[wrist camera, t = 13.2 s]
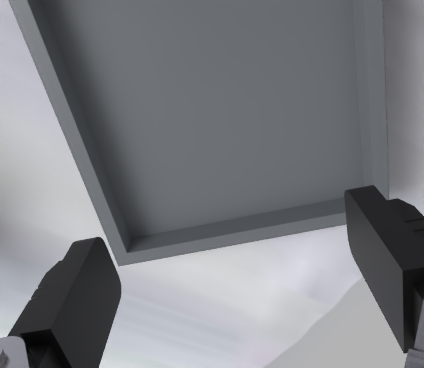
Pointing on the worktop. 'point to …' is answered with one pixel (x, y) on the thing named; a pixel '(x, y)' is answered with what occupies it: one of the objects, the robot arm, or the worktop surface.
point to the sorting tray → (214, 114)
